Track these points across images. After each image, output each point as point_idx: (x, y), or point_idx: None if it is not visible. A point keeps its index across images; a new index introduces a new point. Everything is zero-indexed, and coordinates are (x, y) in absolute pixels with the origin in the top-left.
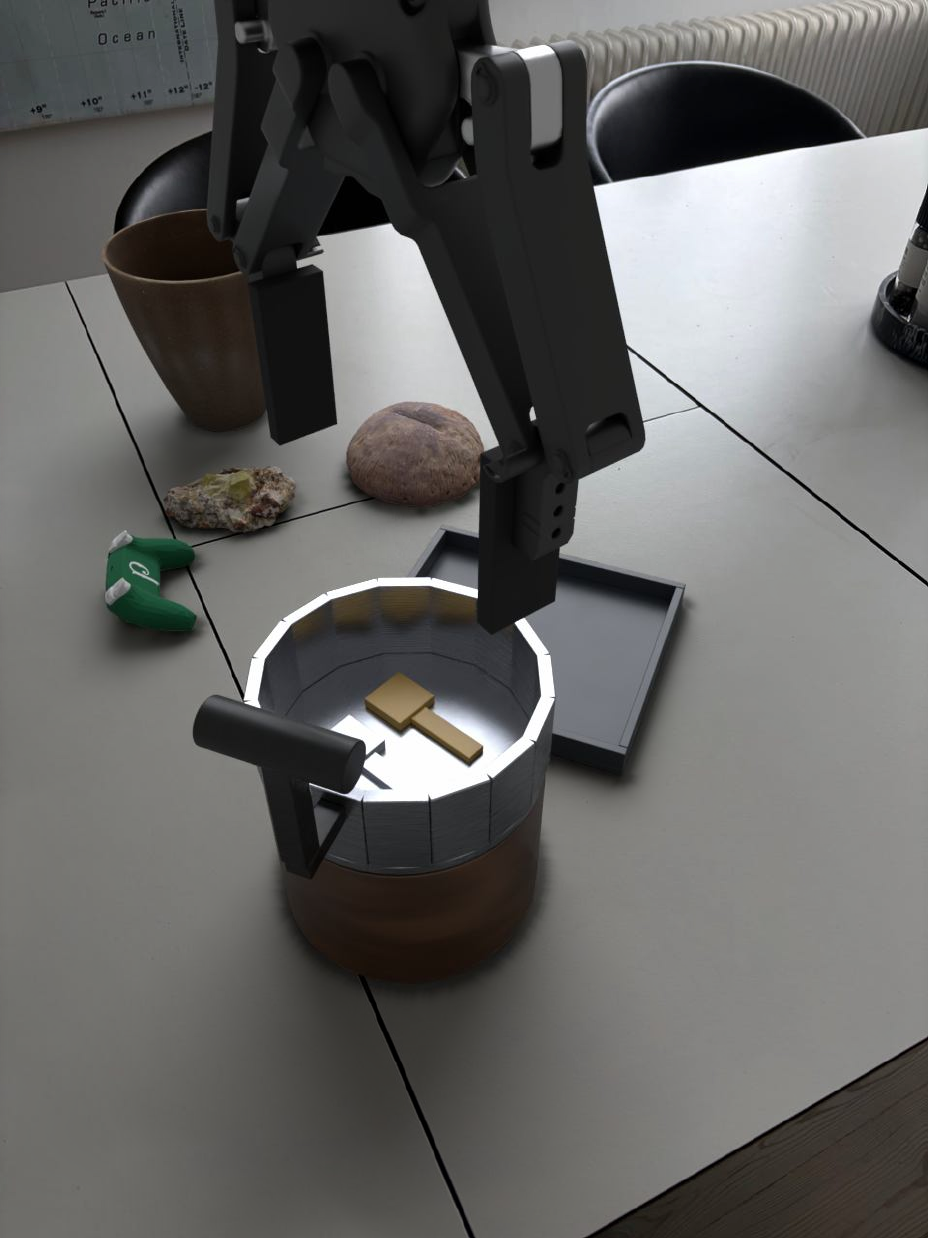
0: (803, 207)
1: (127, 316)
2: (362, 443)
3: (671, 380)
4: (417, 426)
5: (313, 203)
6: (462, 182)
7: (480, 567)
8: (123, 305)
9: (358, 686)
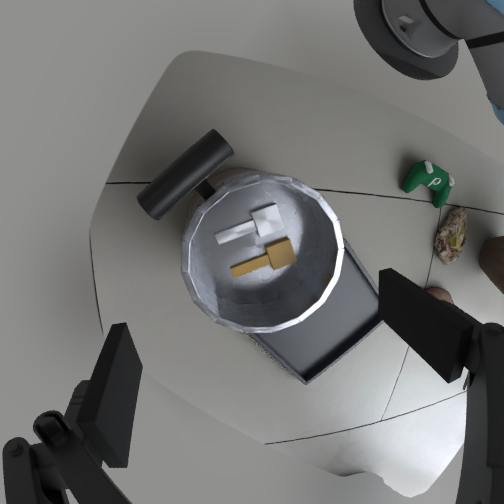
0: (423, 470)
1: None
2: (445, 300)
3: (397, 416)
4: None
5: (471, 432)
6: None
7: (114, 350)
8: None
9: (301, 239)
